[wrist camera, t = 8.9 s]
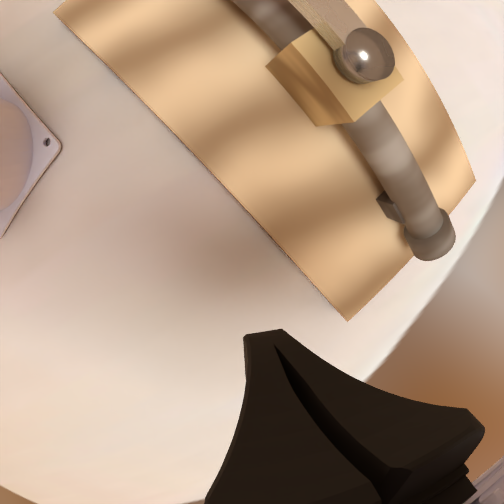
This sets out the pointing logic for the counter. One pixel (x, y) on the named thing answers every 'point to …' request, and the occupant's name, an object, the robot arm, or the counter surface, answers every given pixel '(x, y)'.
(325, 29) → the valve lever
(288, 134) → the valve board
